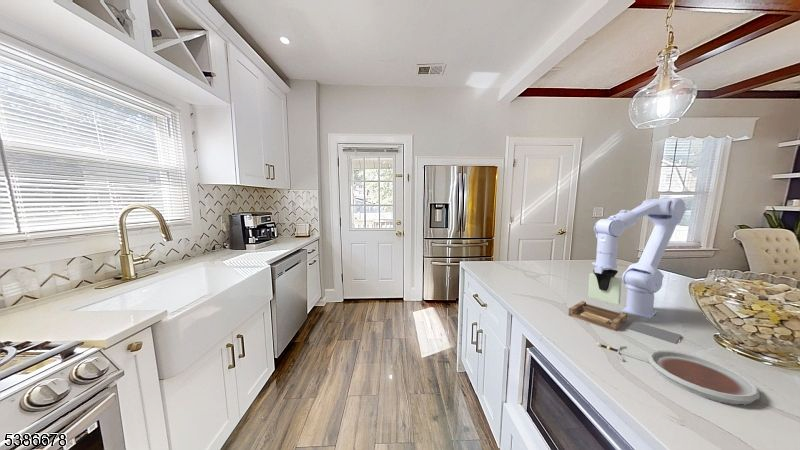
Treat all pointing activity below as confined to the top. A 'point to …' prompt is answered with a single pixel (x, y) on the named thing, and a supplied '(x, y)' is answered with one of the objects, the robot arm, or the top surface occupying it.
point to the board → (609, 295)
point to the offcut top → (595, 317)
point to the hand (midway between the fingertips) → (604, 289)
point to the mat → (655, 332)
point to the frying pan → (699, 376)
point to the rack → (614, 317)
